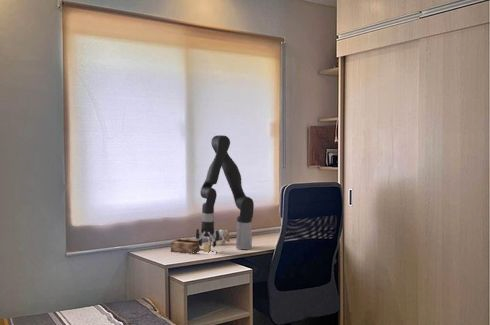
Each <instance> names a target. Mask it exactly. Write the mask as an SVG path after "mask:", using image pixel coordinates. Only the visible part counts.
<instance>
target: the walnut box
mask: <svg viewBox="0 0 490 325" xmlns="http://www.w3.org/2000/svg"><path fill="white" fill-rule="evenodd" d="M197 250H198V251H199V250H200V245H199V239H196V238H195V239H194V238H185V237H183V238H182V237H178V238H176V239H174V240H173V241H171V242H170V253H177V252H180V253H179V254H186V253H193V252H195V251H196V252H198V251H197ZM196 252H195V253H196ZM193 254H194V253H193Z"/></svg>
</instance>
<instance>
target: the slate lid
mask: <svg viewBox="0 0 490 325" xmlns="http://www.w3.org/2000/svg"><path fill="white" fill-rule="evenodd" d="M211 244H212V243H211ZM211 244H209V242H208V243H204V245H203V249H199V250H200V251H201V250H202V251H204V252H208V253H209V252H210V251H212V245H211Z"/></svg>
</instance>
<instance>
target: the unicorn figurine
mask: <svg viewBox="0 0 490 325" xmlns="http://www.w3.org/2000/svg"><path fill="white" fill-rule="evenodd" d="M218 230H219V237H221V238H222V240H221V241H220V246H222V245H224V244H226V242H227V243H230V242H231V240H230V233H229V231H228V229H225V230H224V229H218ZM213 234H214V236H215V238H216V234H215V232H214V233H213ZM210 238H211V237H207V241H208V244H211V246H213V239H212V238H211V240H210Z"/></svg>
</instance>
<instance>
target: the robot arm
mask: <svg viewBox="0 0 490 325" xmlns="http://www.w3.org/2000/svg"><path fill="white" fill-rule="evenodd" d="M210 142H211V147H212V149H213V151H214V153H215V155H214V158H213V160H212V162H211V164H210V166H209V167H208V170H207V173H206V174H207V175H206V178H205V180H204V182H203V184H202V185H201V187H200V188H201V189H200V194H199V195H200V197H201V198H203V199H205V200H206V201H205V202H203V203H202V208H201V228H197V229H196V231H195V239H196V240H199V247H202V245H203V238H204V237H205V238H208V237H210V238H211V240H212V239H213V241H212V243H213V245H212V246H213V247H212V248H216V247H217V241H219V240H220V236H219V230H220V229H215V204H216V200H217V197H218V196H217V190H216V189H215V188H213V186H214V185H217V184H218V181H219V176H220V172H221V170H222V172H223V173H224V177H225V178H226V181H227V184H228V186H229V188H230V191H231V193H232V196H233V200H234V204H235V207H236V208H237V209H238V210H239V216H237V217H236V242H235V243H236V244H235V245H236V247H235V248H236V249H237V248H238V250H240V249H250V248H251V247H252V246H253V244H252V243H253V233H252V221H253V217H254V206H255V204H254V201H253V199H252V198H251V197H249V196H246V194H245V192H244V190H243V187H242V186H243V185H242V174H241V171H240V170H239V168H238V164H236V163H235V161H234V160H233V159H232V157H231V156H230V155H229V153H228V150H229V149H230V145H231V141H230V138H229V136H227V135H223V134H222V135H215V136H213V137H212V138H211V141H210ZM214 232H215V234H216V237H215V236H214V234H213V233H214ZM200 233H201V235H200ZM251 249H252V248H251ZM251 249H250V250H251Z"/></svg>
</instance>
